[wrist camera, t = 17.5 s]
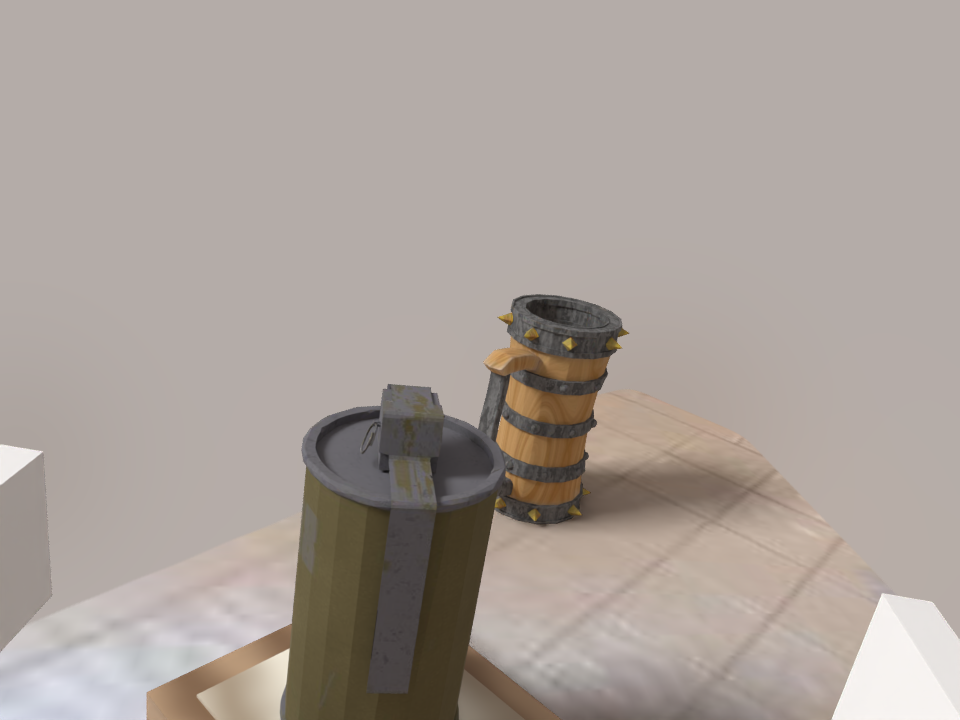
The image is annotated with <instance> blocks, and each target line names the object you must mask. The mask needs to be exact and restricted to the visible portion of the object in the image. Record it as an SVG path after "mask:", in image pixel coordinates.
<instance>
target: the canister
mask: <svg viewBox="0 0 960 720" xmlns="http://www.w3.org/2000/svg"><path fill="white" fill-rule="evenodd" d="M302 456H303V461H304V463H305V464H306V475H305V486H304V497H303V508H302V519H301V530H300V541H299V552H298V563H297V573H296V584H295V595H294V606H293V617H292V628H291V639H290V650H289V661H288V672H287V682H286V686H285V689H284V691H283V694H282V698H281V702H280V718H281V720H459V707H458V699H459V694H460V688H461V683H462V678H463V673H464V667H465V662H466V657H467V651H468V646H469V641H470V636H471V630H472V625H473V620H474V614H475V609H476V604H477V598H478V593H479V588H480V583H481V577H482V572H483V567H484V561H485V556H486V551H487V545H488V540H489V535H490V530H491V524H492V519H493V514H494V508H495V503H496V498H497V493H498V489H499V487H500V486H501V485H502V483H503V480H504V478H505V474H506V464H505V458H504V454H503V452H502V451H501V449H500V447H499V446H498V445H497V444H496V443H495V442H494V441H493V440H492V439H490V438H489V437H488V436H487V435H486V434H485V433H484V432H482V431H480V430H479V429H477V428H475V427H474V426H472V425H470V424H469V423H467V422H464V421H461V420H459V419H455V418H453V417H450V416H446V415H444V414H443V410H442V406H441V405H440V403H439V399H438V395H437V393H431V388H430V387H418V386H405V385H392V384H388V386H387V389H383V393H382V401H381V406H372V407H371V406H370V407H356V408H353V409H349V410H346V411H342V412H339V413H336V414H332V415H329V416H327V417H325V418H324V419H322V420H320V421H319V422H318V423H317V424H315V425H314V426H313V427H312V428H310V430H309V431H308V432H307V434H306V435H305V437H304V438H303V444H302Z"/></svg>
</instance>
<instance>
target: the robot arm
mask: <svg viewBox="0 0 960 720" xmlns="http://www.w3.org/2000/svg"><path fill="white" fill-rule="evenodd" d="M51 596H52V586H51V569H50V552H49V536H48V520H47V504H46V487H45V471H44V454H43V452H42V451H37V450H31V449H25V448H19V447H13V446H7V445H1V444H0V652H1V651H2V650H3V649H4V648H5V646H6V645H7V644H8V643H9V642H10V641H11V640H12V639H13V638H14V637H15V636H16V634H17V633H18V632H19V631H20V630H21V629H22V628H23V627H24V626H25V625H26V624H27V622H28V621H29V620H30V619H31V618H32V617H33V616H34V615H35V614H36V613H37V612H38V611H39V609H40V608H41V607H42V606H43V605H44V604H45V603H46V602H47V601H48V600H49V599H50V597H51ZM832 720H960V640H959V638H958V637H957V636H956V634H955V633H954V631H953V630H952V629H951V627H950V626H949V624H948V623H947V622H946V620H945V619H944V617H943V616H942V615H941V613H940V612H939V610H938V609H937V608H936V606H935V605H934V604H933V602H931V601H924V600H919V599H913V598H907V597H901V596H895V595H889V594H883V593H882V595H881V598H880V600H879V603H878V605H877V608H876V610H875V613H874V615H873V618H872V620H871V623H870V625H869V628H868V630H867V633H866V635H865V638H864V640H863V643H862V645H861V648H860V650H859V653H858V655H857V657H856V660H855V662H854V665H853V667H852V670H851V672H850V675H849V677H848V680H847V682H846V685H845V687H844V690H843V692H842V695H841V697H840V700H839V702H838V705H837V707H836V710H835V712H834V715H833V717H832Z"/></svg>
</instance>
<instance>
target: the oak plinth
mask: <svg viewBox="0 0 960 720" xmlns="http://www.w3.org/2000/svg"><path fill="white" fill-rule="evenodd" d="M291 628H292V624H290V625H288V626H286V627H284V628H282V629H280V630H277V631H275V632H273V633H271V634H269V635H267V636H265V637H263V638H261V639H258V640H256V641H254V642H252V643H250V644H248V645H246V646H244V647H242V648H239V649H237V650H235V651H233V652H231V653H229V654H227V655H225V656H223V657H220V658H218V659H216V660H214V661H212V662H210V663H208V664H206V665H204V666H201V667H199V668H197V669H195V670H193V671H191V672H189V673H187V674H185V675H182V676H180V677H178V678H176V679H174V680H172V681H170V682H168V683H166V684H163V685H161V686H159V687H157V688H155V689H153V690H151V691H149V692H147V720H281V718H280V702H281V698H282V694H283V691H284V689H285V686H286V682H287V672H288V661H289V650H290V639H291ZM458 707H459V720H561V719H560V718H559V717H558V716H556V715H555V714H554V713H553V712H551V711H550V710H549V709H548V708H546V707H545V706H544V705H543V704H541V703H540V702H539V701H538V700H536V699H535V698H534V697H533V696H531V695H530V694H529V693H528V692H526V691H525V690H524V689H523V688H522V687H520V686H519V685H518V684H517V683H515V682H514V681H513V680H512V679H510V678H509V677H508V676H507V675H505V674H504V673H503V672H502V671H500V670H499V669H498V668H497V667H495V666H494V665H493V664H492V663H490V662H489V661H488V660H487V659H485V658H484V657H483V656H482V655H480V654H479V653H478V652H477V651H475V650H474V649H473V648H472V647H470V646H468V651H467V657H466V662H465V667H464V673H463V678H462V683H461V688H460V694H459V699H458Z"/></svg>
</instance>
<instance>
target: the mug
mask: <svg viewBox="0 0 960 720" xmlns="http://www.w3.org/2000/svg"><path fill="white" fill-rule="evenodd" d="M511 312H512V313H509V314H506V315H503V316H500V317H498V318H499V319H501V320H502V321H504V322H505V323H507V324H508V329H507V332H508V333H509V334H510V335H511V344H510V348H504V349H498V350H494V351H493V352H492V353H491V354H490V355H489V356H488V357H487V358H486V359H485V360H484V361H483V362H484V364H485V365H486V367H487V368H488V369H489V370H490V371H491V375H490V381H489V386H488V390H487V395H486V398H485V402H484V406H483V410H482V413H481V418H480V423H479V428H478V429H479V430H480V431H482V432H484V433H485V434H486V435H487V436H488V437H489V438H490V439H492V440H493V441H494V442H495V443H496V444H497V445H498V446H499V447H500V449H501V451H502V452H503V454H504V458H505V464H506V474H505V478H504V480H503V483H502V485H501V486H500V487H499V489H498V493H497V498H496V503H495V508H494V509H495V510H496V511H497V512H499V513H501V514H504V515H506V516H508V517H511V518H513V519H515V520H519V521H524V522H529V523H535V524H554V523H559V522H562V521H565V520H568V519H571V518H572V517H573V516H574V515H582V514H581V513H580V512H579V502H580V498H581V497H582V496H583V495H586V494H589V493H591V492H589V491H587V490H586V489H584V488H583V484H582V482H581V475H582V474H583V473H584V472H585V460H587V459H588V457H589V455H588V453H587V452H585V443H586V437H587V432H588V431H590V430H591V428H593V427H595V426H596V425H597V421H596V420H595V419H594V411H593V407H594V403H595V399H596V396H597V392H598V391H599V390H600V389H601V387H602V385H603V383H604V380H605V379H606V377H607V375H608V373H607V368H606V366H607V363H608V360H609V358H610V356H611V355H612V354H613V353H615V352H616V351H617V349H621V348H622V347H621V346H620V345H619V344H618V343H617V338H618V337H620V336H623V335H626V334H629V333H628V332H627V331H625V330H624V329H622V322H621V319H620V318H619V317H618V316H616V315H615V314H614V313H613V312H611V311H609V310H606V309H605V308H602V307H600V306H598V305H595V304H592V303H588V302H585V301H581V300H578V299H573V298H567V297H562V296H555V295H541V294H536V295H525V296H521V297H518V298H516V299H513V302H512V307H511ZM501 415H502V417H501ZM500 417H501V421H500ZM499 422H500V425H499ZM498 427H499V430H498Z"/></svg>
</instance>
